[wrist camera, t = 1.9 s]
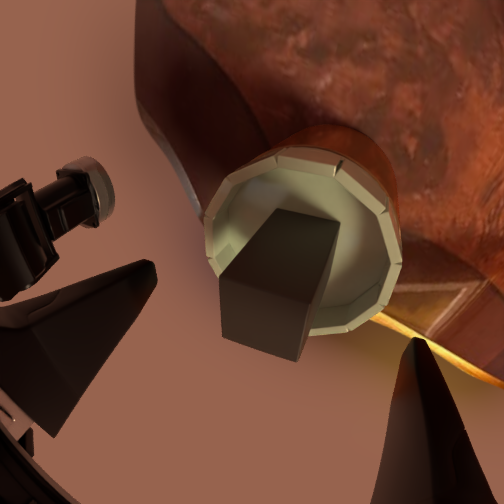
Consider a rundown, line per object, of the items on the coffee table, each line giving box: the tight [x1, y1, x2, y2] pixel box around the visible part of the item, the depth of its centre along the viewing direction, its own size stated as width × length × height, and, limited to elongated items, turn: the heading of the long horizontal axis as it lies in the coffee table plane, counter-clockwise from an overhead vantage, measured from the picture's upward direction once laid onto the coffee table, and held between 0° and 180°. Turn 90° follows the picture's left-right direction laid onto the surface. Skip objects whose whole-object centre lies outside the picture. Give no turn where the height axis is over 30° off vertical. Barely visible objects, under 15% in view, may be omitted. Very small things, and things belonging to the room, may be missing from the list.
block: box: [219, 208, 341, 362], centre depth 12 cm, size 3×3×6 cm
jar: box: [204, 124, 402, 336], centre depth 16 cm, size 9×9×9 cm
